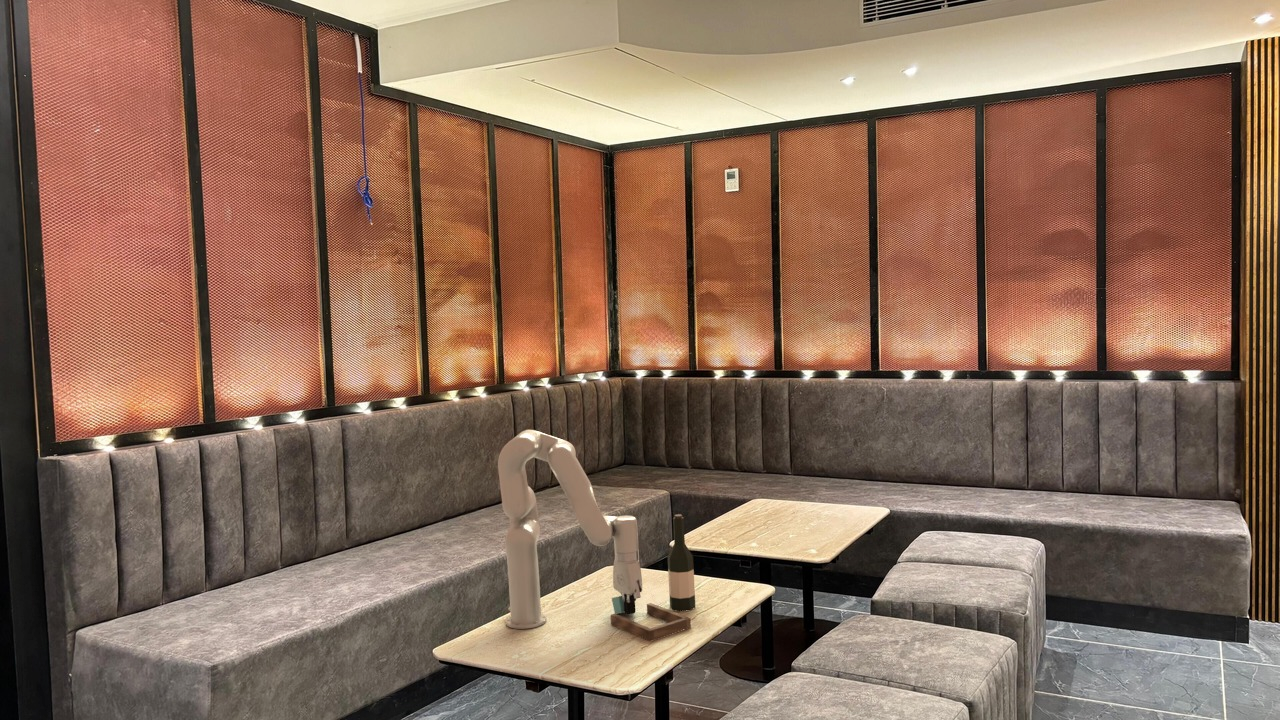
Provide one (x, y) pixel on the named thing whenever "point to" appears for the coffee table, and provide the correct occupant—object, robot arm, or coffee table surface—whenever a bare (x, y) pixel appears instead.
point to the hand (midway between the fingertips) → (630, 613)
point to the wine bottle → (680, 570)
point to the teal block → (618, 604)
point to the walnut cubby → (675, 625)
